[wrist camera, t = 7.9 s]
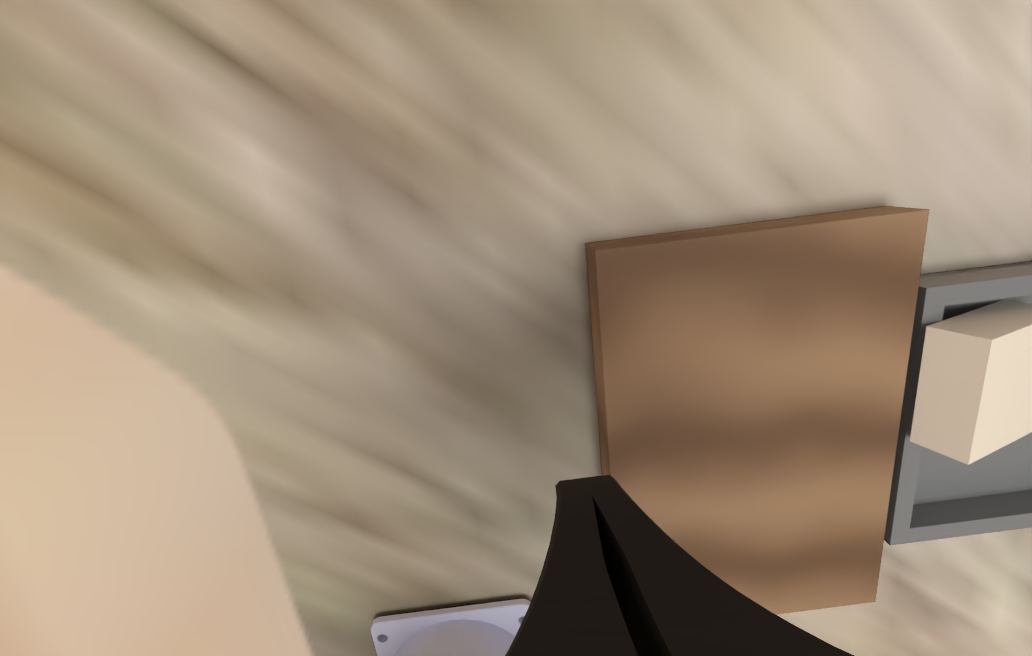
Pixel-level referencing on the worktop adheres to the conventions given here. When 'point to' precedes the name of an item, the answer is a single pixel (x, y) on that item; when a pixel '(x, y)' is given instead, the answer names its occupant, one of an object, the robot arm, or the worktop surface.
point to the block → (975, 382)
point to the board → (761, 392)
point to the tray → (938, 478)
